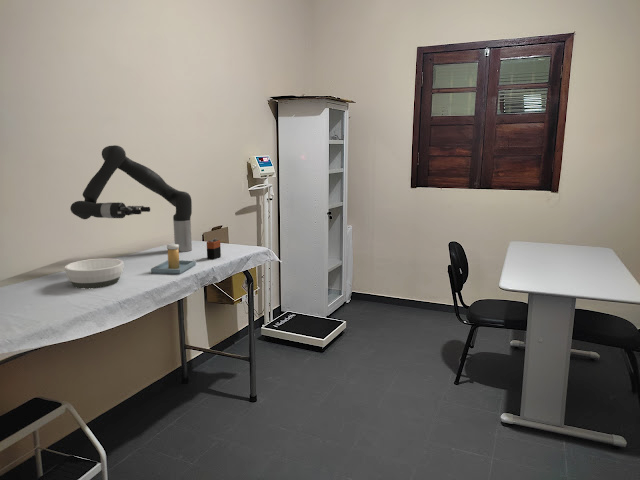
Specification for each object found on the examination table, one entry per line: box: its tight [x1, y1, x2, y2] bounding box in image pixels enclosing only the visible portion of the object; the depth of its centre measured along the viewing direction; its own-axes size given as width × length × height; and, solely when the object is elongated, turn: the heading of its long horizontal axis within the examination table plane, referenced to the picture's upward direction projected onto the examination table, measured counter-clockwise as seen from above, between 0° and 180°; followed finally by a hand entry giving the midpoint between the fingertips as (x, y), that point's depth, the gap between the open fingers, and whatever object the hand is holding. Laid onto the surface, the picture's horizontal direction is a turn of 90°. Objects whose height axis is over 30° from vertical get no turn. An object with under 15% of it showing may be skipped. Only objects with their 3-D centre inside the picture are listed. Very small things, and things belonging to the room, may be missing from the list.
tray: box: [150, 259, 197, 275], centre depth 226 cm, size 18×14×2 cm
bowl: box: [64, 257, 124, 290], centre depth 202 cm, size 22×22×8 cm
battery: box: [206, 237, 222, 260], centre depth 250 cm, size 4×7×10 cm, turn 158°
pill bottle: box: [166, 243, 180, 269], centre depth 226 cm, size 5×5×11 cm
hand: (145, 210), depth 225 cm, fingers open, 8 cm apart
